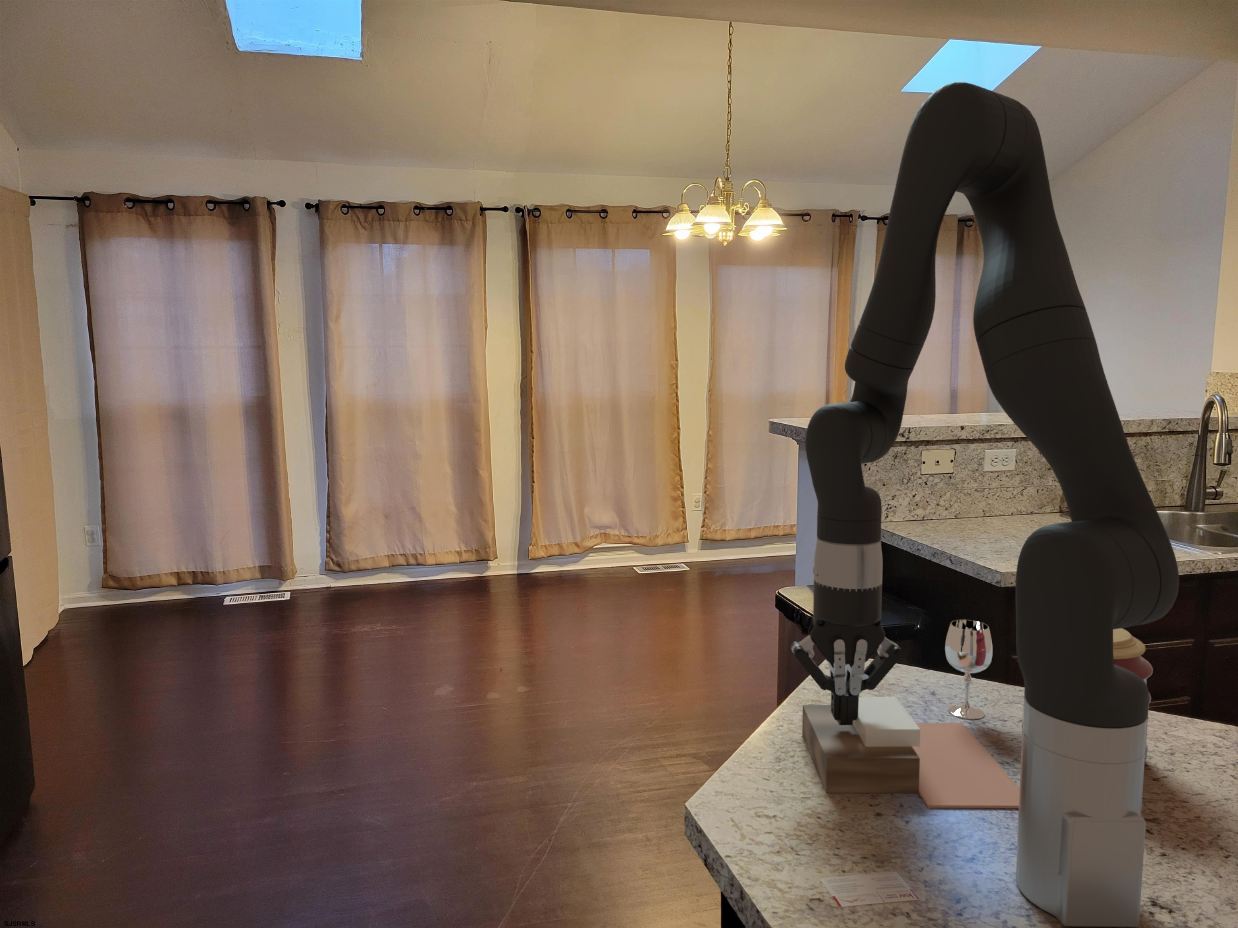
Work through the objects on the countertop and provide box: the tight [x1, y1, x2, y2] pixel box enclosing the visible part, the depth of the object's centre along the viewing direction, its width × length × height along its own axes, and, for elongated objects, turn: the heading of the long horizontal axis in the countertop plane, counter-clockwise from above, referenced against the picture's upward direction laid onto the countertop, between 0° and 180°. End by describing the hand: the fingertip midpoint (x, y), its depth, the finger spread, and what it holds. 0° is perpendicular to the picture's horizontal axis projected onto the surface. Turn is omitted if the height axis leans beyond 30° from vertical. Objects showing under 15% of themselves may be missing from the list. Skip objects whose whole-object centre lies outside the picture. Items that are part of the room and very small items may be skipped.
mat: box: [912, 722, 1020, 809], centre depth 97 cm, size 20×11×1 cm, turn 178°
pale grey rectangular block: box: [853, 696, 920, 747], centre depth 97 cm, size 9×6×2 cm, turn 179°
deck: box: [801, 704, 920, 794], centre depth 97 cm, size 14×10×4 cm
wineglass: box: [944, 619, 993, 720], centre depth 110 cm, size 6×6×12 cm
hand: (844, 722), depth 96 cm, fingers closed
